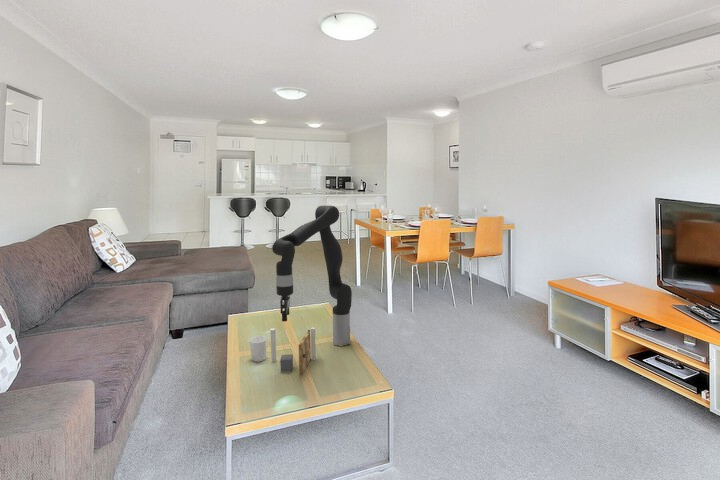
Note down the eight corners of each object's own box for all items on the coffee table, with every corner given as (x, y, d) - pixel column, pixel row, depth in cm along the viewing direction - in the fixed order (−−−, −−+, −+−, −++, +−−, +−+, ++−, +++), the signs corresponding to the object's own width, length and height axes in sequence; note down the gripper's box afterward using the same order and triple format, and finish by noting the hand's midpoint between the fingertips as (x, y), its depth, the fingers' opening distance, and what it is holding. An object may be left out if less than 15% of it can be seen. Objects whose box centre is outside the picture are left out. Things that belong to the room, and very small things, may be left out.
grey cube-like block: (292, 366, 174) (292, 354, 173) (291, 371, 169) (291, 359, 168) (282, 366, 174) (281, 354, 173) (280, 372, 169) (280, 359, 168)
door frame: (315, 358, 182) (315, 327, 180) (315, 359, 180) (314, 328, 178) (272, 359, 181) (271, 328, 178) (271, 361, 179) (270, 330, 176)
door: (308, 358, 182) (308, 329, 179) (313, 359, 181) (313, 329, 179) (299, 375, 166) (298, 343, 164) (304, 375, 166) (303, 343, 163)
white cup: (258, 363, 176) (257, 344, 175) (247, 359, 181) (246, 340, 179) (270, 357, 183) (269, 338, 182) (259, 353, 187) (258, 335, 186)
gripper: (291, 287, 161) (292, 323, 163) (294, 279, 175) (295, 312, 177) (273, 288, 160) (275, 323, 163) (278, 280, 174) (279, 312, 177)
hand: (285, 317), depth 170 cm, fingers open, 8 cm apart
